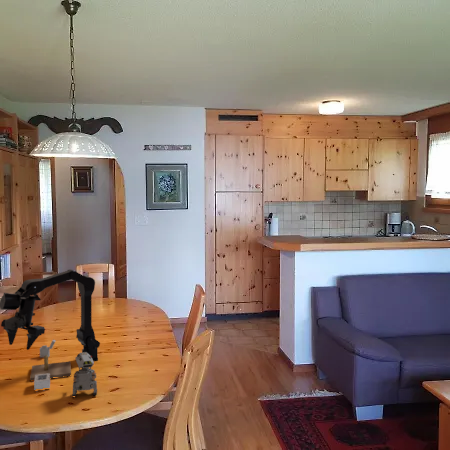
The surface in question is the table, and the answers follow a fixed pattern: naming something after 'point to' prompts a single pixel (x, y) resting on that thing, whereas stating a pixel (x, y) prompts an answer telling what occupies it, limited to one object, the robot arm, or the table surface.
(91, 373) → the figurine
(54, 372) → the grey peg stand
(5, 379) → the table surface
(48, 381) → the steel link
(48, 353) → the lighter
